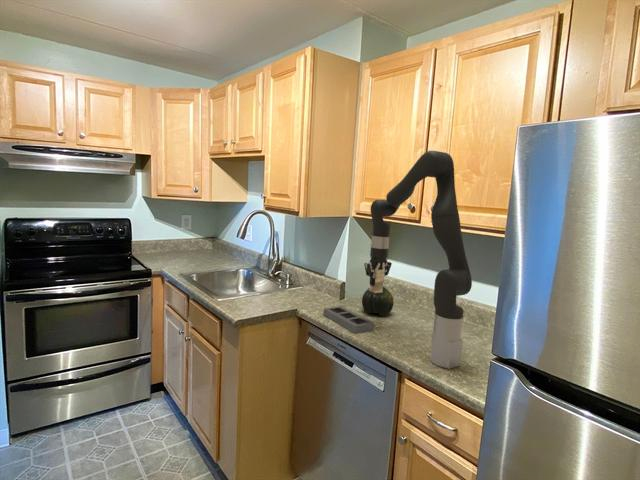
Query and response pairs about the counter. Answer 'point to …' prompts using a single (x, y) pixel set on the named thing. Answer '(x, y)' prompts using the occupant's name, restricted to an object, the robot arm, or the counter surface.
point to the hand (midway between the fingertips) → (376, 285)
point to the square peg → (378, 282)
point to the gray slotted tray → (348, 319)
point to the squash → (378, 302)
